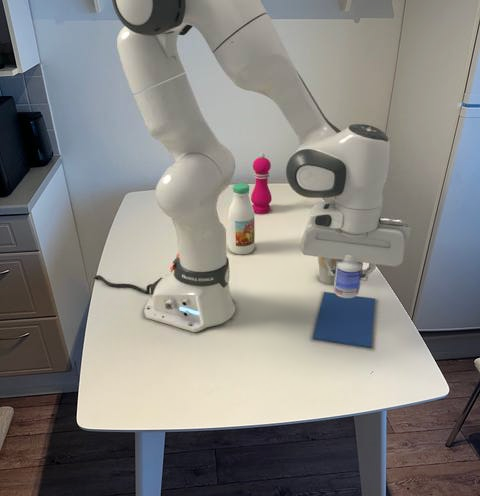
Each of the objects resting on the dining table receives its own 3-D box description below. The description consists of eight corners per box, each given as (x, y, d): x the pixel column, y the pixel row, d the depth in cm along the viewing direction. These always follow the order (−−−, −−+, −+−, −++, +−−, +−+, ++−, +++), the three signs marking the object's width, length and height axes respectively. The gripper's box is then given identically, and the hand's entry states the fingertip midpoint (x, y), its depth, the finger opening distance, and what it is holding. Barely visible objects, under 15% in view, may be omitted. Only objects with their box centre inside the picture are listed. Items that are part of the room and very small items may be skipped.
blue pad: (313, 339, 112) (313, 337, 112) (324, 293, 128) (324, 291, 128) (370, 348, 110) (371, 346, 109) (374, 300, 125) (375, 298, 125)
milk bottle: (226, 253, 147) (224, 189, 135) (232, 242, 153) (231, 179, 141) (251, 256, 145) (251, 191, 133) (256, 244, 151) (257, 181, 140)
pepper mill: (248, 207, 175) (248, 151, 163) (267, 205, 176) (268, 149, 165) (254, 215, 169) (255, 157, 157) (274, 213, 171) (276, 155, 159)
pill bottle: (362, 297, 102) (369, 256, 96) (337, 300, 101) (343, 258, 96) (353, 284, 107) (359, 243, 101) (329, 286, 106) (334, 246, 100)
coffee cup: (346, 289, 130) (353, 238, 121) (310, 285, 131) (315, 235, 122) (347, 271, 137) (354, 222, 128) (313, 268, 139) (318, 219, 130)
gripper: (412, 214, 94) (399, 276, 102) (307, 203, 99) (302, 263, 107) (412, 228, 89) (398, 292, 97) (301, 215, 94) (297, 278, 102)
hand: (347, 277), depth 102 cm, fingers closed on pill bottle, 5 cm apart
